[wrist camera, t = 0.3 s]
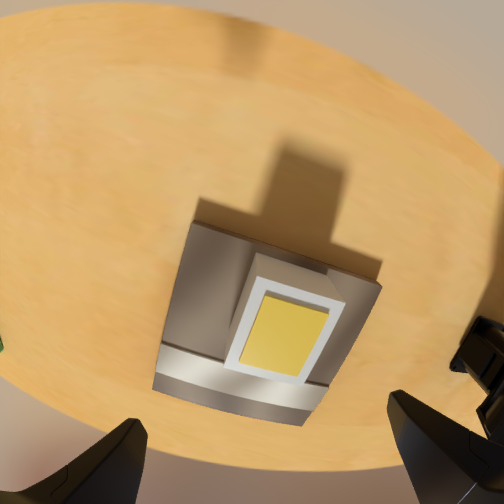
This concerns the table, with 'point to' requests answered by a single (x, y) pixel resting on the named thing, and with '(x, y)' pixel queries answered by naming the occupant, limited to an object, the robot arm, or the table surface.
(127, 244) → the table surface
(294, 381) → the block
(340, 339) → the subfloor board
